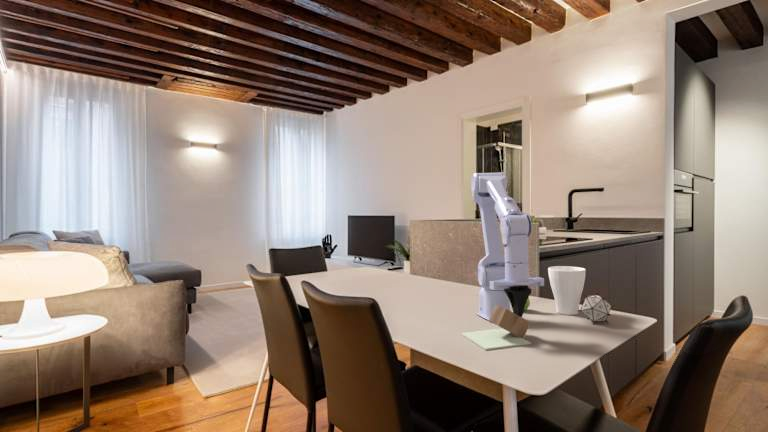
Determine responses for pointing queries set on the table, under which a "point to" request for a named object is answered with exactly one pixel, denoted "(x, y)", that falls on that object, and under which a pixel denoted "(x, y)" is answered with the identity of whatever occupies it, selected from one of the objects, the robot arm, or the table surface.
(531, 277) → the snail figurine
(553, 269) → the cup
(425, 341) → the table surface
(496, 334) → the mat
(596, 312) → the game die
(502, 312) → the wooden block
